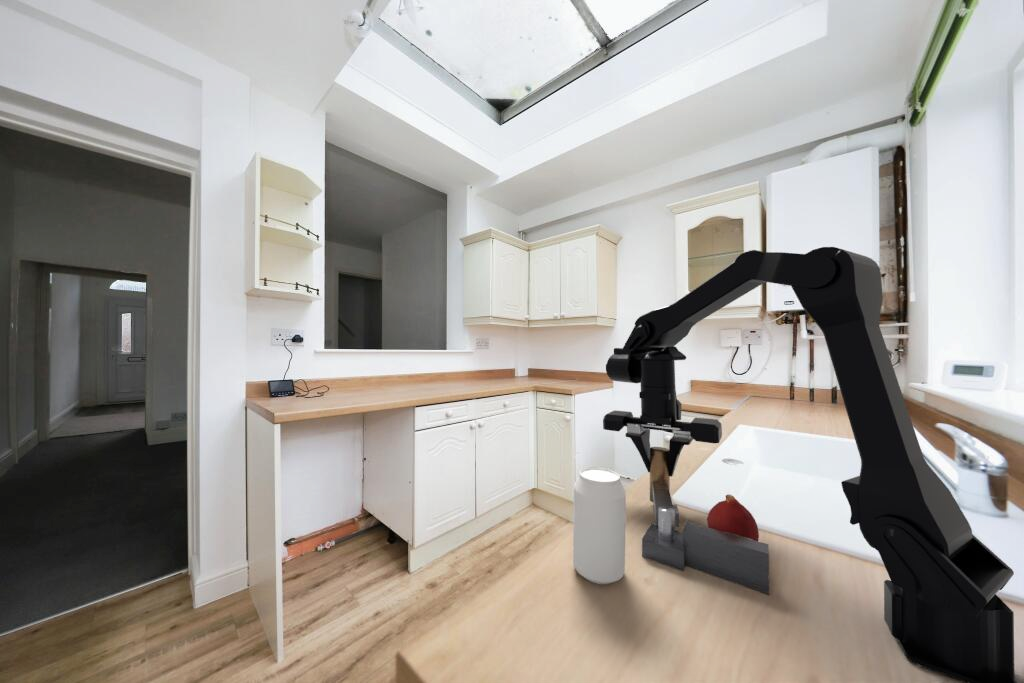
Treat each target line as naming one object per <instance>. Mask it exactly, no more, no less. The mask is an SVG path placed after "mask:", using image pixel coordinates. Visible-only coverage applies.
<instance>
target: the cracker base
mask: <svg viewBox="0 0 1024 683" xmlns="http://www.w3.org/2000/svg"><path fill="white" fill-rule="evenodd" d="M675 527H676V526H675V510H674V509H673V508H670V507H667V506H660V507H659V516H658V524H656V523H654V522H652V523H651V524H650V525H649V526H648V528H647V530H646V531H645V534H644V535H643V536H642V538H641V542H642V543H641V557H642V558H644V559H647V560H650V561H653V562H655V563H657V564H658V563H659V564H662V565H664V566H666V567H667V566H668V567H670V568H672V569H675V570H678V571H681V572H685V569H686V567H687V568H689V569H692V570H695V571H698V572H701V573H703V574H704V573H705V574H707V575H710V576H711V577H715V578H719V579H721V580H724V581H727V582H729V583H734V584H735V585H739V586H741V587H744V588H747V589H750V590H753V591H756V592H759V593H761V594H764V595H767V596H770V549H769V543H765V542H761V541H759V540H758V541H755V540H753V539H750V538H746V537H742V536H739V535H735V534H732V533H728V532H722V531H719V530H715V529H712V528H708V526H705V525H701V524H697V523H694V522H690V521H685V523H684V526H683V529H682V531H678V530H676V528H675Z"/></svg>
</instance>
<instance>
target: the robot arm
mask: <svg viewBox="0 0 1024 683" xmlns="http://www.w3.org/2000/svg"><path fill="white" fill-rule="evenodd" d="M881 273H882V272H881V269H880V266H879V265H878V264H877V261H875V260H874V259H873V258H871V257H869V256H866V255H863V254H860V253H855V252H853V251H849V250H846V249H842V248H838V247H835V246H822V247H819V248H815V249H812V250H810V251H809V252H807V253H796V252H795V253H792V252H782V251H781V252H775V251H774V252H770V251H769V252H768V251H761V250H757V249H752V250H751V249H750V250H747V251H745V252H742V253H740V254H739V255H738V256H737V257H736V258H735V261H733V262H731V263H730V264H728V265H727V266H726V267H725V268H723V269H722V270H720V271H718V272H717V273H716V274H714V275H713V276H711V277H710V278H708V279H707V280H705V282H703V283H701V284H700V285H698V286H697V287H696V288H694V289H693V290H691V291H689V293H686V294H685V295H684V296H682V297H681V298H680V299H678V300H677V301H675V302H674V303H671V304H669V305H667V306H663V307H660V308H656V309H653V310H651V311H649V312H647V313H645V314H642V315H641V316H639V317H638V318H637V319H636V320H635V322H634V327H633V329H632V331H631V333H630V334H629V336H628V338H627V340H626V342H625V343H624V345H623V347H621V348H620V347H614V349H613V354H611V355H610V356H609V358H608V359H607V362H606V364H605V371H606V375H607V376H608V378H609V379H610V380H612V381H614V382H621V383H630V384H640V391H639V393H638V394H639V399H640V407H641V414H640V415H639V417H638V416H637V417H636V416H634V415H633V412H632V411H625V410H612V411H610V412H608V413H606V414H604V416H603V419H602V425H603V426H602V427H603V428H602V429H603V430H606V431H613V432H620V431H621V430H623V428H624V427H626V433H625V437H626V438H630V439H631V441H632V443H633V445H634V447H635V448H636V450H637V451H638V453H639V456H640V458H641V459H642V462H643V464H644V465H645V469H646V470H647V473H649V474H650V448H651V442H650V438H651V437H650V436H651V430H654V431H663V432H672V435H673V436H672V437H671V438H670V439H669V444H668V445H669V446H668V449H669V476H670V478H672V477H673V476H674V473H675V470H676V467H677V463H678V461H679V458H680V455H681V452H682V450H683V448H684V446H690V444H691V443H692V442H693V440H694V441H695V442H700V443H708V444H720V441H721V439H722V437H723V427H722V423H721V422H720V421H719V419H715V418H704V417H703V418H702V417H694V418H693V419H692V420H691V422H690V421H681V420H682V402H681V401H680V400H679V399H678V397H677V390H676V368H675V367H676V366H675V361H685V360H686V359H687V356H686V355H685V354H684V353H682V351H680V350H679V349H678V347H677V346H676V345H677V344H678V343H680V342H681V341H682V340H683V339H684V338H686V337H687V336H688V335H689V333H690V331H691V329H692V328H693V327H694V326H695V325H696V324H698V323H700V322H701V321H702V320H704V319H705V318H708V317H709V316H711V315H712V314H714V313H716V312H717V311H720V310H721V309H722V308H724V307H726V306H728V305H729V304H731V303H733V302H735V301H736V300H738V299H739V298H741V297H742V296H743V297H744V295H746V294H748V293H749V292H751V291H753V290H755V289H756V288H758V287H759V286H761V285H763V284H766V283H771V284H776V285H783V286H789V287H791V288H792V290H793V291H794V294H795V296H796V298H797V300H798V301H799V303H800V305H801V307H802V308H803V310H804V312H806V313H807V315H808V316H809V317H810V318H811V320H813V322H814V323H815V324H816V325H817V327H819V329H820V330H821V332H822V334H823V337H824V340H825V343H826V346H827V350H828V354H829V357H830V360H831V363H832V366H833V369H834V370H833V371H834V374H835V376H836V380H837V383H838V387H839V391H840V393H841V397H842V400H843V405H844V407H845V411H846V414H847V417H848V420H849V424H850V427H851V431H852V434H853V437H854V441H855V443H856V447H857V450H858V451H857V452H858V454H859V457H860V464H861V465H860V471H859V475H857V476H854V477H852V478H848V479H846V480H842V481H841V488H842V491H843V494H844V496H845V497H846V500H847V502H848V504H849V508H850V520H849V523H850V524H851V525H853V526H855V525H858V526H859V529H860V532H861V534H862V537H863V538H864V540H865V541H866V543H867V544H868V545H869V546H870V547H871V548H873V549H875V550H876V551H877V552H878V554H879V556H880V559H881V561H882V563H883V565H884V567H885V570H886V572H887V574H888V576H889V579H890V580H888V579H885V580H884V581H883V595H884V596H883V605H884V607H883V609H884V610H883V614H884V615H883V620H884V621H885V623H886V626H887V628H888V630H889V632H890V634H891V636H892V637H893V638H894V639H895V640H897V643H898V644H899V646H900V648H901V650H902V653H903V655H904V656H905V658H906V659H907V660H909V661H910V662H911V663H914V664H916V665H919V666H921V667H924V668H927V669H928V670H933V671H935V672H938V673H941V674H944V675H946V676H948V677H951V678H955V679H956V680H959V681H962V682H965V683H1018V682H1017V681H1016V679H1015V630H1014V629H1015V621H1014V611H1013V610H1012V609H1011V607H1009V606H1008V605H1007V604H1006V603H1005V602H1004V600H1002V599H1001V598H1000V597H999V596H998V595H997V593H998V592H999V591H1001V590H1002V589H1004V587H1005V586H1006V585H1007V584H1008V582H1009V581H1010V580H1011V579H1012V577H1013V576H1014V574H1015V573H1014V570H1013V569H1012V568H1011V567H1010V566H1009V565H1007V563H1005V562H1004V560H1002V559H1001V558H1000V557H998V556H997V555H996V554H995V553H994V552H993V551H992V550H991V549H989V547H987V545H985V544H984V543H983V542H982V541H981V540H980V539H978V537H976V536H975V535H974V534H973V530H972V527H971V525H970V523H969V521H968V519H967V517H966V516H965V514H964V512H963V511H962V508H961V507H960V506H959V504H958V502H957V501H956V499H955V497H954V496H953V494H952V492H951V490H950V489H949V488H948V486H947V485H946V484H945V483H944V482H943V481H942V479H941V478H940V476H938V475H937V473H936V472H935V471H934V470H933V468H932V467H931V466H930V465H929V463H928V462H927V461H926V459H925V457H924V456H923V455H924V454H923V452H922V448H921V446H920V443H919V439H918V436H917V433H916V431H915V427H914V425H913V423H912V419H911V415H910V413H909V410H908V408H907V407H908V406H907V404H906V401H905V398H904V395H903V393H902V389H901V387H900V384H899V381H898V377H897V375H896V372H895V368H894V366H893V363H892V360H891V357H890V354H889V351H888V348H887V346H886V342H885V340H884V336H883V333H882V331H881V327H880V318H881V312H882V305H883V300H884V296H883V284H882V274H881Z"/></svg>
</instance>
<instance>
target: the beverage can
mask: <svg viewBox="0 0 1024 683" xmlns="http://www.w3.org/2000/svg"><path fill="white" fill-rule="evenodd" d="M626 496H627V491H626V490H625V488H624V485H623V484H622V481H621V476H620V474H619V473H618V472H616V471H614V470H612V469H608V468H604V467H585V468H583V469H580V470H579V476H578V478H576V480H575V483H574V485H573V516H572V517H573V519H572V520H573V521H572V522H573V523H572V524H573V527H572V530H573V532H572V533H573V534H572V539H573V540H572V560H573V561H572V562H573V563H572V564H573V567H574V569H575V571H576V572H577V573H578V574H579V575H580V576H582V577H583V578H585V580H588V582H592V583H594V584H598V585H609V584H612V583H615V582H617V581H619V580H620V579H622V578H623V576H624V575H625V569H626V567H625V566H626V513H627V512H626V506H627V504H626V501H627V500H626V498H627V497H626Z"/></svg>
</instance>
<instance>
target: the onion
mask: <svg viewBox="0 0 1024 683" xmlns="http://www.w3.org/2000/svg"><path fill="white" fill-rule="evenodd" d="M706 522H707V527H708V528H712V529H715V530H719V531H722V532H728V533H732V534H735V535H739V536H742V537H746V538H750V539H753V540H755V541H758V542H759V538H760V533H759V528H758V524H757V522H756V519H755V517H754V515H752V513H751V512H750V511H749V509H748V508H746V507H745V506H744V505H743V504H742V503H740V502H739V500H737V499H736V497H735V496H734V495H732V494H726V495H725V499H724V500H722V501H719V502H717V503H715V505H714V506H713V507H711V508H710V510H709V512H708V514H707V518H706Z"/></svg>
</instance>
